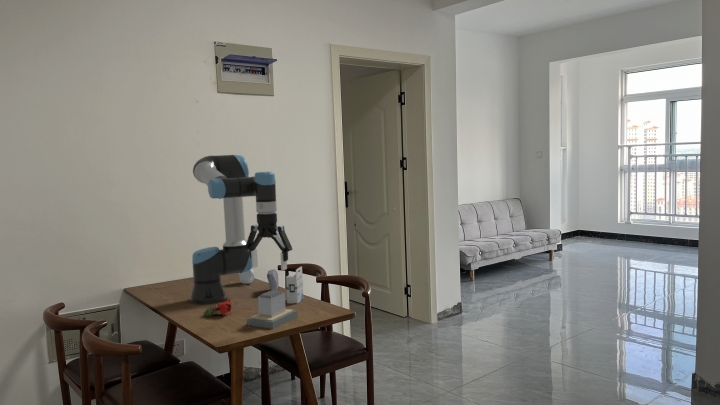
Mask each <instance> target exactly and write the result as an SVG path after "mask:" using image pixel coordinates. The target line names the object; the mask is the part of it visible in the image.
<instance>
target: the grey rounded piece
mask: <svg viewBox="0 0 720 405" xmlns="http://www.w3.org/2000/svg"><path fill="white" fill-rule="evenodd" d="M266 279H267V282H268V284H269V289H270V291H271V290H277V291H278V287H279V273H278V270H276V268H275V269H269V270H267V273H266Z"/></svg>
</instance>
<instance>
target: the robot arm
mask: <svg viewBox="0 0 720 405" xmlns="http://www.w3.org/2000/svg"><path fill="white" fill-rule="evenodd" d="M248 166H249V165H248V162H247V160H246V158H245V157H244V156H243V155H238V154H228V155H225V154H224V155H207V156H203V157H202V158H200V159H198V160H197V161H196V162H195V164H193V169H192V174H193V176H194V178H195V180H196V181H198V182H200V183H202V184H204V185H206V186H207V192H208V194H209V198H210V199H219V200H221V199H222V200H223V215H224V216H223V217H224V229H225V231H224V232H225V241H224V242H223V244H222V249H220V248H219V246H210V247H205V248H201V249H198V250H195V251H194V252H193V253H192V256H191V258H192V262H191V264H192V277H193V288H192V292H191V295H190V303H191V304H195V305H210V304H218V303H222V302H225V300H226V299H227V298H226V297H227V295H226V292H225V290H224V287H223V284H222V280H221V276H227V275H233V274H239V273H243V272H248V271H250V270H251V268H254V269H255V268H258V267H259V266H258V265H259V262H258V259H259V258H258V250H257V247H258V246H259V244H260V242H261V241H262V240H263V238H265V239H266V238H267V239H268V238H269V239H272V240H273V241H274V242H275V244H276V246H277V247H278V248H279V250H280V251H281V252H280V270H281V271H286V270H287V269H288V264H287V261H289V252H291V251H293V247H292V244H291V242H290V240H289V238H288V235H287V233H286V231H285V225H279V226H278V225H277V223H278V214H277V213H276V212H277V194H276V193H277V192H276V190H277V189H276V186H277V185H276V182H277V180H276V176H275V175H276V174H275V173H274V172H273V171H258V172H255V173H254V176H250V175H249V174H250V172H249V167H248ZM246 197H255V209H256V213H257V214H256V223H257V224H253V225H250V232H249V235H248V238H247V240H246V234H245V233H246V232H245V231H246V230H245V218H244V217H245V216H244V201H243V198H246ZM222 299H223V300H222Z"/></svg>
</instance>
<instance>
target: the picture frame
mask: <svg viewBox="0 0 720 405" xmlns="http://www.w3.org/2000/svg"><path fill="white" fill-rule="evenodd" d="M298 317H299V316H298V309H290V308H288V309H287V308H286V311H285V312H283V313H280V314H278V315H276V316H274V317H272V318H271V317H263V316H259V313H257V314H254V315H251V316H250V317H247V318H246V325H247V326H250V325H252V326H251V327H259V328H264V329H271V330H274V329H275V328H276V329H277V328H278V327H280V326H283V325H285V324H287V323H288V322H291V321H293V320H296V319H297V318H298Z"/></svg>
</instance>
